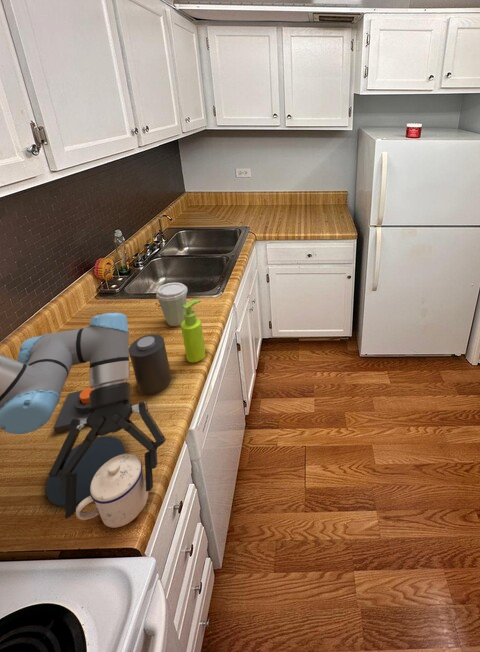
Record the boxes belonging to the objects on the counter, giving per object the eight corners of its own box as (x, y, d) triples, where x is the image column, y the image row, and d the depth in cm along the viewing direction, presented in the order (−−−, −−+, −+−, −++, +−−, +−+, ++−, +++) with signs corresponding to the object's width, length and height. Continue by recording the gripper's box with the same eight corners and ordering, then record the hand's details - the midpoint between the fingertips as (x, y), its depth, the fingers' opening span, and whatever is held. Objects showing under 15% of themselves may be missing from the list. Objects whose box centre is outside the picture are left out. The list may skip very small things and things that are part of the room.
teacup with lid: (144, 471, 75) (133, 435, 70) (154, 507, 68) (144, 470, 64) (80, 509, 68) (65, 472, 63) (85, 554, 61) (68, 515, 57)
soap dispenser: (211, 352, 110) (204, 301, 103) (194, 365, 105) (185, 312, 97) (200, 345, 113) (192, 295, 106) (182, 357, 108) (173, 305, 100)
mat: (34, 518, 66) (33, 516, 66) (60, 449, 79) (59, 447, 79) (118, 491, 71) (117, 490, 71) (130, 430, 84) (129, 428, 84)
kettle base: (55, 433, 83) (51, 422, 82) (70, 398, 93) (66, 388, 91) (118, 417, 87) (115, 406, 86) (126, 385, 97) (123, 375, 96)
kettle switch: (79, 406, 86) (77, 400, 86) (83, 394, 90) (81, 388, 89) (97, 402, 88) (95, 396, 87) (100, 390, 91) (98, 384, 90)
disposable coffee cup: (178, 310, 132) (172, 277, 126) (198, 317, 127) (193, 283, 122) (155, 325, 123) (148, 290, 117) (176, 333, 119) (170, 298, 113)
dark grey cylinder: (136, 398, 93) (124, 356, 87) (141, 370, 102) (131, 330, 97) (170, 390, 96) (162, 348, 90) (172, 363, 105) (165, 324, 100)
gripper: (174, 371, 79) (181, 474, 72) (50, 400, 72) (44, 520, 64) (169, 370, 73) (177, 484, 65) (32, 402, 65) (23, 535, 57)
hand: (111, 502), depth 65 cm, fingers open, 13 cm apart
